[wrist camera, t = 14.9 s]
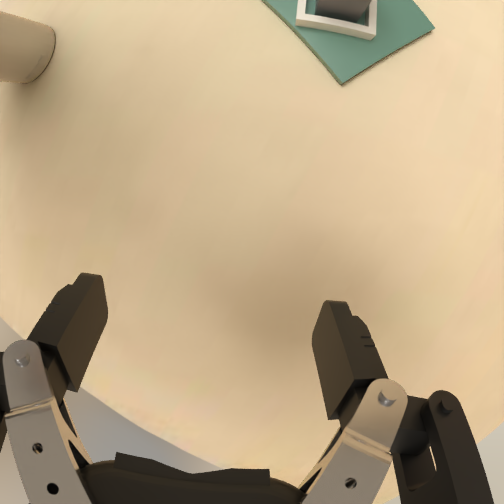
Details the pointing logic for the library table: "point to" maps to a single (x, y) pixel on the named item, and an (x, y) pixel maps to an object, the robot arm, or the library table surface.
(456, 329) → the library table surface
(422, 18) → the board
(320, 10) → the gray block
